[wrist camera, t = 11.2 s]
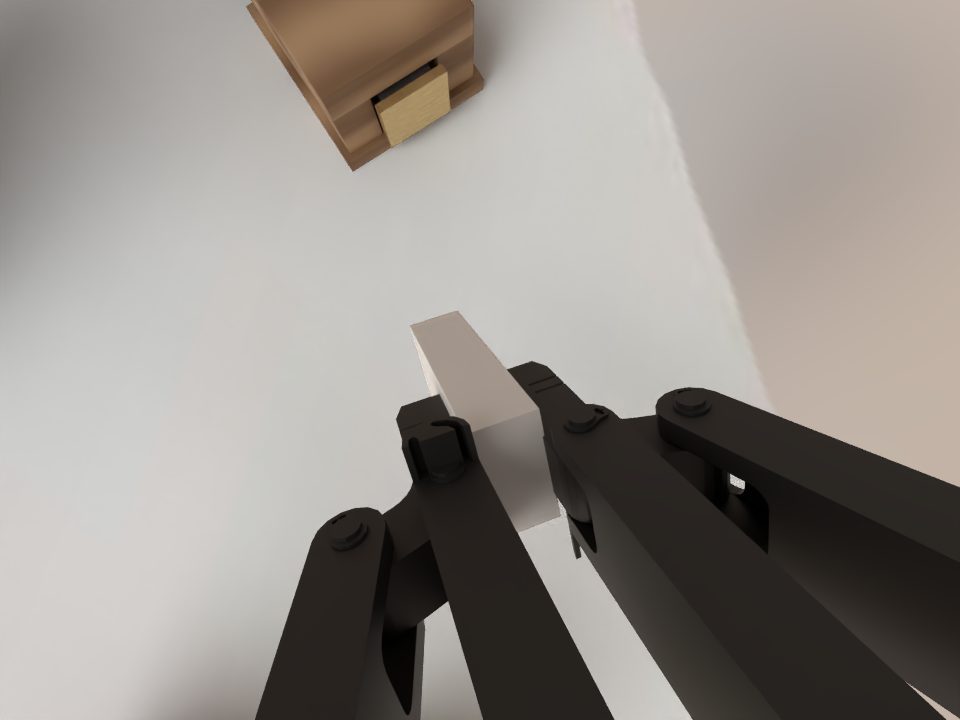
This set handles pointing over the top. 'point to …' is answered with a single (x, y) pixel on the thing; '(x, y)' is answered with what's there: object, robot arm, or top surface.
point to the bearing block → (367, 57)
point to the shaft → (413, 103)
